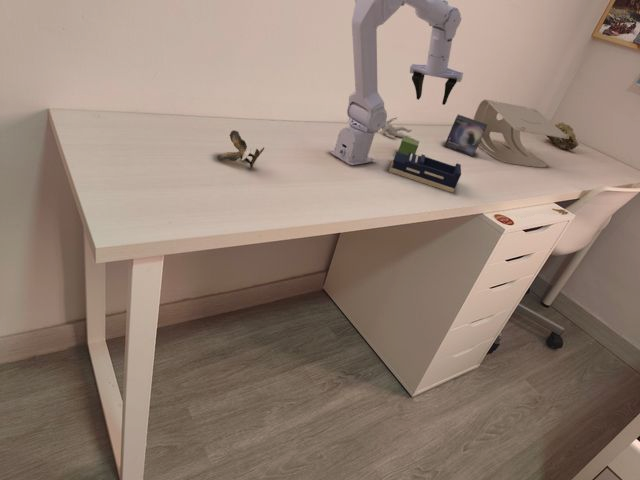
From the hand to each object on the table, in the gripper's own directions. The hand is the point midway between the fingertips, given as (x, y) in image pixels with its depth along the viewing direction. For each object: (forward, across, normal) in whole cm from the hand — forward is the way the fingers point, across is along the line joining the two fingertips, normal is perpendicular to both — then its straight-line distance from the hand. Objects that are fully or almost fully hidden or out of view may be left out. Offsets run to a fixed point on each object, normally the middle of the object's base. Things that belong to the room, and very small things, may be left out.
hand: (431, 100), depth 131 cm
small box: (+24, -8, -17) cm, 31 cm away
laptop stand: (+32, -23, -36) cm, 54 cm away
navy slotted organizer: (+12, -5, +21) cm, 25 cm away
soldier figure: (+18, +13, -6) cm, 22 cm away
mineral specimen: (+48, -41, -78) cm, 100 cm away
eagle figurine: (-4, +29, +56) cm, 63 cm away
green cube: (+14, +3, +10) cm, 17 cm away
